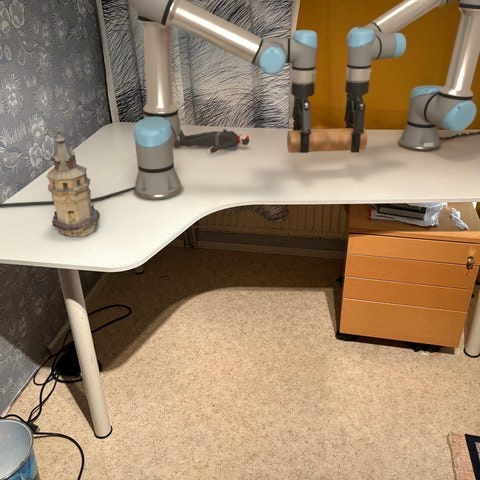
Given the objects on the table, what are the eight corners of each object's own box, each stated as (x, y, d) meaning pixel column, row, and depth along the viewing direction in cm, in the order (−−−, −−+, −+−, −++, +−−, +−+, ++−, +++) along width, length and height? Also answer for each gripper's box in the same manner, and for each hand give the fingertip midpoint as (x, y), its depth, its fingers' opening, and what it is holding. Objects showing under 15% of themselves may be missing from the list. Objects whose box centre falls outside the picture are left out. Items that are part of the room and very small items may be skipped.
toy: (185, 122, 227) (254, 122, 220) (186, 136, 230) (255, 137, 224) (165, 142, 205) (242, 143, 198) (167, 157, 208) (243, 159, 201)
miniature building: (80, 214, 164) (63, 117, 149) (111, 225, 157) (96, 125, 142) (44, 231, 154) (22, 130, 140) (75, 244, 147) (55, 139, 133)
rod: (290, 156, 180) (291, 134, 176) (286, 148, 186) (287, 127, 183) (366, 152, 182) (368, 131, 178) (359, 145, 188) (361, 124, 184)
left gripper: (323, 91, 161) (319, 158, 172) (307, 73, 183) (304, 133, 193) (298, 92, 161) (296, 159, 171) (285, 74, 182) (283, 134, 193)
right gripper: (378, 87, 164) (371, 157, 176) (360, 73, 182) (354, 137, 193) (355, 88, 164) (348, 159, 175) (338, 73, 182) (333, 138, 193)
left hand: (300, 145), depth 182 cm, fingers open, 13 cm apart
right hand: (351, 147), depth 184 cm, fingers closed on rod, 7 cm apart
